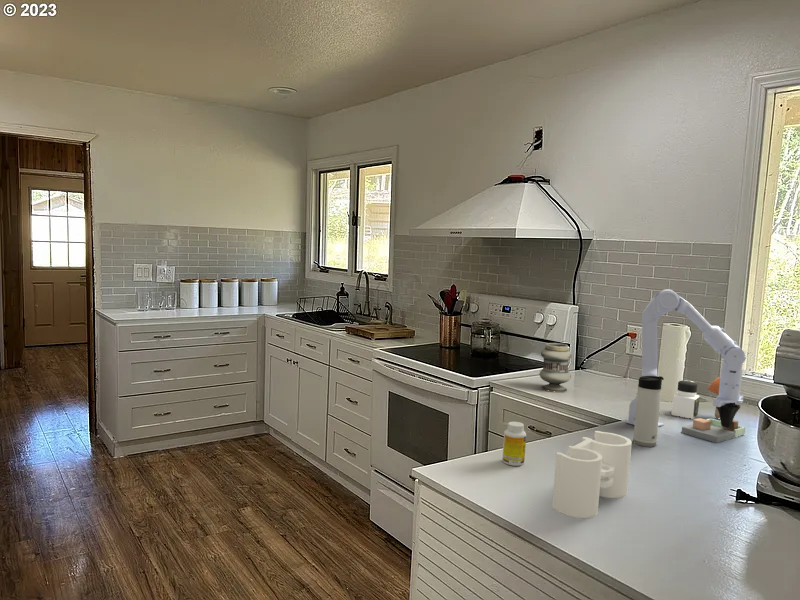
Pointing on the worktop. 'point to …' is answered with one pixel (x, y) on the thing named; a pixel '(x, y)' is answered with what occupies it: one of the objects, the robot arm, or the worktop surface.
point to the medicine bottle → (686, 400)
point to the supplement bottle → (514, 444)
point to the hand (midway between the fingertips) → (725, 426)
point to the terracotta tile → (701, 424)
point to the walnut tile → (732, 426)
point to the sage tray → (717, 423)
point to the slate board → (709, 433)
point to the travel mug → (647, 410)
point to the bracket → (591, 474)
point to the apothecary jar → (555, 366)
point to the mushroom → (715, 389)
